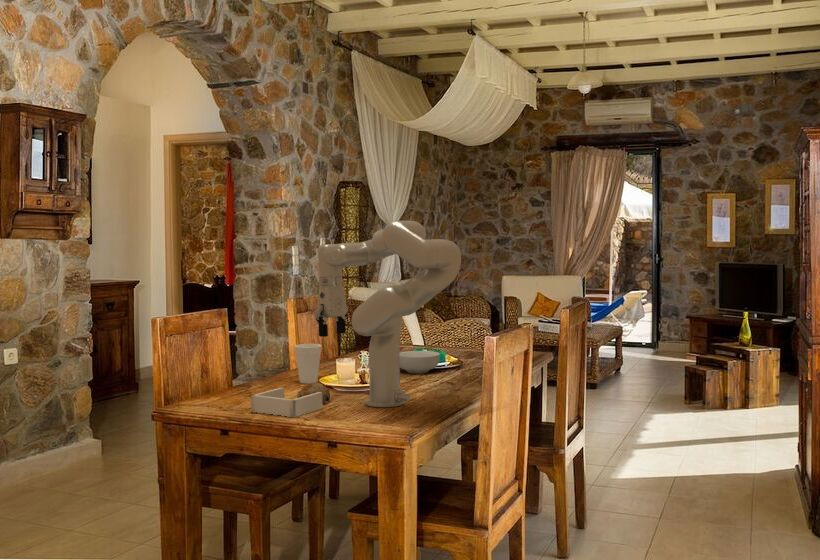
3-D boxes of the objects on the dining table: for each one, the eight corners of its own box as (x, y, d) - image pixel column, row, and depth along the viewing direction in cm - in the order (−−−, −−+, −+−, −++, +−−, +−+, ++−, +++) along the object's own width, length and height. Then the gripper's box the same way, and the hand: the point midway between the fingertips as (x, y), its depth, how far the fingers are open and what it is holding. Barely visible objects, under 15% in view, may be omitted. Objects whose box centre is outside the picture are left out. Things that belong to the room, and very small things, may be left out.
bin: (322, 408, 255) (322, 392, 254) (293, 417, 243) (292, 400, 242) (281, 403, 263) (281, 387, 263) (251, 411, 251) (251, 395, 251)
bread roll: (318, 417, 259) (328, 395, 258) (289, 402, 260) (300, 380, 259) (328, 410, 268) (338, 388, 267) (300, 396, 270) (310, 374, 269)
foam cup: (318, 378, 305) (318, 343, 304) (324, 383, 296) (323, 346, 295) (293, 380, 302) (292, 344, 301) (297, 385, 293) (297, 348, 292)
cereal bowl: (448, 371, 318) (448, 352, 317) (420, 377, 305) (420, 358, 305) (415, 366, 329) (415, 348, 329) (386, 372, 317) (386, 353, 316)
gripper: (324, 284, 262) (325, 338, 263) (355, 280, 277) (357, 332, 278) (305, 283, 266) (306, 337, 267) (336, 280, 281) (338, 331, 281)
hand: (332, 334), depth 272 cm, fingers open, 9 cm apart
